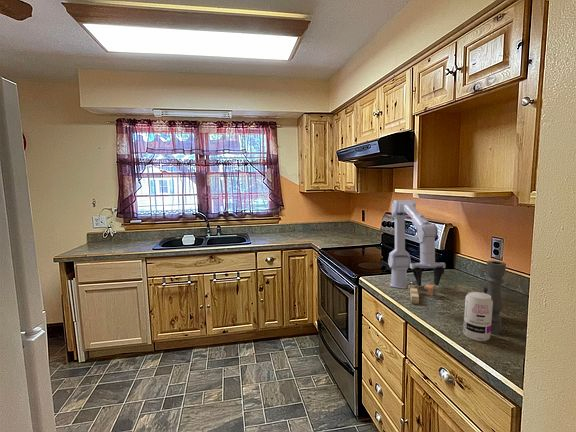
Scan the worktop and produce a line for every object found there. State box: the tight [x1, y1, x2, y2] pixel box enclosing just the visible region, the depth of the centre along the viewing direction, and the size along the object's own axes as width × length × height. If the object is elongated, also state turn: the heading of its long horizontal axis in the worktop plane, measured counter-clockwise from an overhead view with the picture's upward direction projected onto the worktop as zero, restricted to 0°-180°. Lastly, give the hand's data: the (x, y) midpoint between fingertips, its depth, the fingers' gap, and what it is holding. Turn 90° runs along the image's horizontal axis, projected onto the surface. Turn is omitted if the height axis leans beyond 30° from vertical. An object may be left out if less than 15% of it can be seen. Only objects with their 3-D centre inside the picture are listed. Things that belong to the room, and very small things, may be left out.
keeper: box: [423, 283, 436, 296], centre depth 151 cm, size 3×6×5 cm, turn 142°
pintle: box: [409, 280, 417, 288], centre depth 154 cm, size 3×3×6 cm
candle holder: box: [485, 260, 507, 335], centre depth 116 cm, size 6×6×25 cm
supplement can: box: [462, 291, 493, 342], centre depth 112 cm, size 8×8×15 cm
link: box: [407, 284, 420, 305], centre depth 149 cm, size 16×5×3 cm, turn 162°
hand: (427, 285), depth 135 cm, fingers open, 7 cm apart
